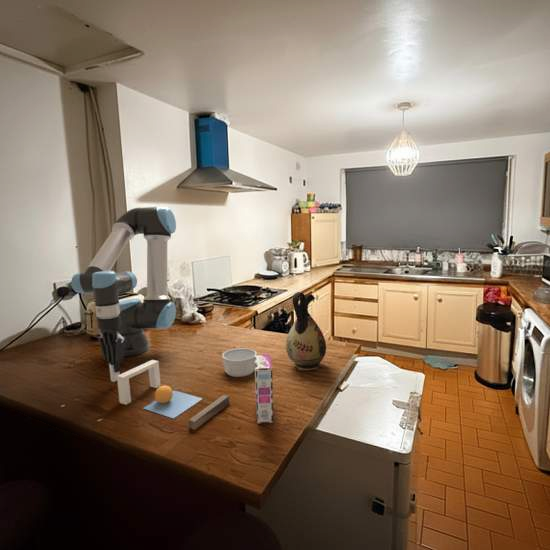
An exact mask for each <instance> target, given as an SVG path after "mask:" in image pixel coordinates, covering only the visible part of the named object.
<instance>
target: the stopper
mask: <svg viewBox="0 0 550 550" xmlns="http://www.w3.org/2000/svg"><path fill="white" fill-rule="evenodd" d="M229 404H230V396H229V395H227V394H226V395H225V394H223V395H221V396H220V397H219V398H218V399H216V400H214V401H213V402H212V403H210V404H209V405H207V406H206V407H205V408H203V409H202V410H200V411H199V412H198V413H196V414H195V415H193V416H192V417H191V418H189V419H188V427H189V429H191V430H193V431H196V430H197V429H198V428H200V427H201V426H202V425H204V424H206V422H207V421H209V420H210V419H211V418H213V417H214V416H215V415H216V414H218V413H219V412H220V411H221V410H223V409H224V408H225V407H227V406H228V405H229Z"/></svg>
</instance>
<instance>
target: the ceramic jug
mask: <svg viewBox="0 0 550 550" xmlns="http://www.w3.org/2000/svg"><path fill="white" fill-rule="evenodd" d="M314 300H315V295H313V294H311V293H308V294H304V293H303V292H300V291H298V292H295V293H294V294H293V295H292V305H293V310H294V312H295V317H296V318H295V319H296V320H295V321H294V322H293V324H292V326H291V328H290V330H289V331H288V334H287V337H286V342H285V343H286V345H285V349H286V353H287V356H288V357H289V359H290V360H291V362H292V363H294V366H295V367H296V369H297V370H299V371H314V370H317V369H319V368H320V367H321V365H320V363H321V362H322V360H324V358H325V356H326V352H327V343H326V338H325V336H324V334H323V331H322V329H321V328H320V326H319V325H318V323H317V322H316V321H315V320H314V318H313V317H312V316H311V314H310V313H309V310H308V309H309V305H310V304H311V303H312V302H313V301H314Z"/></svg>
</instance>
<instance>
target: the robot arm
mask: <svg viewBox="0 0 550 550" xmlns="http://www.w3.org/2000/svg"><path fill="white" fill-rule="evenodd" d="M176 230H177V221H176V218H175V215H174V212H173V211H172V210H171V209H170V208H169V207H168V206H167V207H166V206H151V207H147V206H146V207H135V208H132V209H130V210H129V209H128V211H125V212H124V213H123V214H121V215H120V216H119V217H118V218H117V219H116V221H115V222H114V223H113V225H112V226H111V232H110V233H109V235H108V237H107V238H106V240H104V242H103V243H102V245H101V247H100V248H99V249H98V251H97V252H96V254H95V255H94V257H93V259H92V260H91V261H90V263H89V264H88V265H87V267H86V269H85V270H84V272H80V273H79V272H78V273H76V274H74V275H72V278H71V281H70V282H71V283H70V285H71V288H72V290H73V291H74V292H76V293H77V294H88V295H89V294H93V297H94V307H95V314H96V315H95V316H96V317H97V318H96V324H97V329H99V330H100V332H98V333H96V338H97V340H98V343H99V347H100V350H101V355H102V358H103V360H104V361H106V362H107V364H108V369H109V374H110V375H109V376H110V382H112V383H114V382H116V381H117V376H118V375H120V374H121V373H120V371H121V367H120V363H121V362H124V357H130V356H136V355H140V354H143V353H145V352H147V351H148V350H149V349H150V344H149V341H148V338H147V336H146V334H145V333H144V332H145V331H144V330H145V329H146V330H167V329H169V328H170V327H172V325H173V324H174V322H175V320H176V315H177V314H176V313H177V308H176V307H177V306H176V305H175V303H174V302H172V301H171V299H172V298H171V297H170V296H169V295H168V242H169V241H170V240H171V239H172V234H175V232H176ZM137 235H143V238H144V239H145V240H146V246H147V247H146V251H147V253H146V296H145V297H143V298H142V299H143V300H141V298H131V299H127V300H122V301H119V300H120V299H119V297H120V295H123V294H126V293H129V292H131V291H133V290H134V289H135V288H136V286H137V285H138V279H137V276H136V275H135V274H134V273H133V272H132V271H129V270H127V271H121V272H116V271H114V270H112V268H113V267H114V265H115V264H116V262H117V260H118V259H119V257H120V256H121V254H122V252H123V250H124V249H125V247H126V246H127V244H128V242H129V241H131V240H133V239H134V237H135V236H137ZM142 301H143V302H142Z"/></svg>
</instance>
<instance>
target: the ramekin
mask: <svg viewBox="0 0 550 550" xmlns="http://www.w3.org/2000/svg"><path fill="white" fill-rule="evenodd" d="M255 355H258V352H257V351H256V350H254V349H251V348H246V347H244V348H243V347H242V348H241V347H237V348H233V349H227V350H226V351H224V352H223V353H222V354H221V356H222V357H221V359H222V362H223V368H224V371H225V374H227V375H228V376H230V377H236V378H239V377H240V378H241V377H246V376H249V375H251V374H253V373H254V372H255Z"/></svg>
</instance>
